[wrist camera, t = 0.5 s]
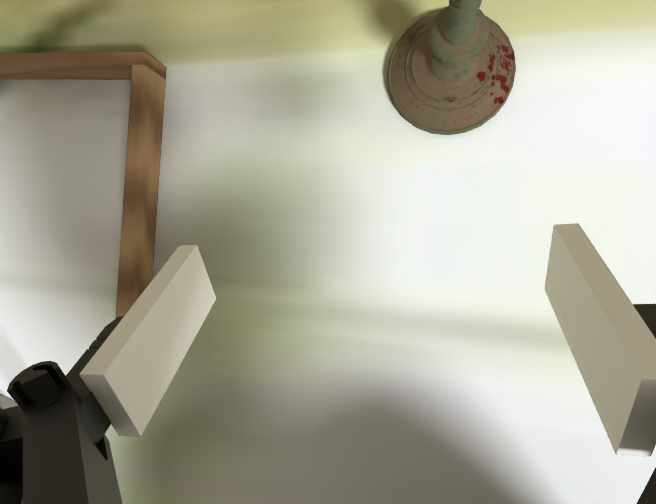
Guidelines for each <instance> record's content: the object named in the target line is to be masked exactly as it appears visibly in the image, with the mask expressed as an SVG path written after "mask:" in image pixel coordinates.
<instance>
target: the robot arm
mask: <svg viewBox="0 0 656 504" xmlns="http://www.w3.org/2000/svg"><path fill="white" fill-rule="evenodd" d="M545 291H546V294H547V296H548V298H549V301H550V303H551V305H552V308H553V310H554V312H555V315H556V317H557V319H558V321H559V324H560V326H561V328H562V331H563V333H564V335H565V338H566V340H567V342H568V345H569V347H570V349H571V352H572V354H573V356H574V358H575V361H576V363H577V365H578V368H579V370H580V372H581V375H582V377H583V379H584V382H585V384H586V386H587V389H588V391H589V393H590V395H591V398H592V400H593V402H594V405H595V407H596V409H597V412H598V414H599V416H600V419H601V421H602V423H603V426H604V428H605V430H606V432H607V435H608V437H609V439H610V442H611V444H612V446H613V449H614V451H615V453H616V455H635V456H651V455H652V452H653V450H654V447H655V445H656V304H632V303H631V301H630V300H629V298H628V297H627V295H626V294H625V292H624V291H623V289H622V288H621V286H620V285H619V283H618V282H617V280H616V279H615V277H614V276H613V274H612V273H611V271H610V270H609V268H608V267H607V265H606V264H605V262H604V261H603V259H602V258H601V256H600V255H599V253H598V252H597V250H596V249H595V247H594V246H593V244H592V243H591V241H590V240H589V238H588V237H587V235H586V234H585V232H584V231H583V229H582V228H581V226H580V225H579V223H578V224H560V225H554V227H553V234H552V241H551V248H550V255H549V262H548V269H547V275H546V282H545ZM215 300H216V296H215V293H214V291H213V288H212V285H211V282H210V279H209V277H208V274H207V271H206V268H205V266H204V263H203V260H202V257H201V254H200V252H199V249H198V246H197V245H179V246H178V248H177V249H176V250H175V252H174V253H173V254H172V255H171V257H170V258H169V259H168V261H167V262H166V263H165V264H164V266H163V267H162V268H161V270H160V271H159V272H158V274H157V275H156V276H155V277H154V279H153V280H152V281H151V283H150V284H149V285H148V286H147V288H146V289H145V290H144V292H143V293H142V294H141V295H140V297H139V298H138V299H137V301H136V302H135V303H134V304H133V306H132V307H131V308H130V310H129V311H128V312H127V313H126V315H125V316H119V317H117V318H116V319H115V320H114V321H112V322H111V323H110V324H108V325H107V326H106V327H105V328H104V329H103V330H102V332H101V333H100V334H99V335H98V337H97V340H94V342H93V343H92V344H91V345H90V347H89V349H87V350H86V352H85V353H84V354H83V355H82V357H81V358H80V359H79V360H78V361H77V363H76V364H75V365H74V366H73V368H72V369H71V370H70V371H69V373H68V374H67V375H66V376H65V375H64V373H63V372H62V370H61V369H60V367H59V366H58V364H57V363H55V362H52V361H45V362H40V363H37V364H34V365H32V366H30V367H28V368H27V369H25V370H23V371H22V372H21V373H19V374H18V375H17V376H16V377H15V378H14V379H13V380H12V381H11V383H10V384H9V386H8V389H7V392H8V393H9V394H10V395H11V397H12V398H13V399H14V400H15V402H16V403H17V404H18V406H14V407H10V408H6V409H2V408H1V407H0V504H122V500H121V495H120V491H119V486H118V481H117V477H116V472H115V467H114V463H113V458H112V453H111V449H110V444H109V440H108V439H107V437H106V435H105V433H106V431H107V429H108V428H109V426H110V425H111V424H112V426H113V427H114V429H115V430H116V432H117V433H118V435H119V436H142V434H143V432H144V430H145V428H146V427H147V425H148V423H149V421H150V419H151V417H152V416H153V414H154V412H155V410H156V408H157V406H158V405H159V403H160V401H161V399H162V397H163V395H164V394H165V392H166V390H167V388H168V386H169V384H170V383H171V381H172V379H173V377H174V375H175V374H176V372H177V370H178V368H179V366H180V364H181V363H182V361H183V359H184V357H185V355H186V353H187V352H188V350H189V348H190V346H191V344H192V342H193V341H194V339H195V337H196V335H197V333H198V331H199V330H200V328H201V326H202V324H203V322H204V320H205V319H206V317H207V315H208V313H209V311H210V309H211V308H212V306H213V304H214V302H215ZM637 504H656V468H655V470H654V472H653V474H652V476H651V477H650V479H649V481H648V483H647V485H646V487H645V489H644V491H643V493H642V495H641V497H640V498H639V500H638V502H637Z"/></svg>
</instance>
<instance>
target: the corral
mask: <svg viewBox="0 0 656 504" xmlns="http://www.w3.org/2000/svg"><path fill="white" fill-rule="evenodd" d="M0 79H120V80H131V95H130V110H129V125H128V140H127V155H126V170H125V185H124V200H123V216H122V231H121V246H120V261H119V276H118V291H117V306H116V318H117V317H119V316H125V315H126V313H127V312H128V311H129V310H130V308H131V307H132V306H133V304H134V303H135V302H136V301H137V299H138V298H139V297H140V295H141V294H142V293H143V292H144V290H145V289H146V288H147V286H148V285H149V284H150V283H151V281H152V272H153V257H154V243H155V228H156V213H157V198H158V184H159V169H160V154H161V139H162V125H163V110H164V95H165V80H166V67H165V66H163V65H162V64H161V63H159V62H158V61H157V60H155V59H154V58H153V57H151V56H150V55H149V54H147V53H146V52H61V53H0Z"/></svg>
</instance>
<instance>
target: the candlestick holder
mask: <svg viewBox="0 0 656 504" xmlns="http://www.w3.org/2000/svg"><path fill="white" fill-rule="evenodd" d="M480 5H481V0H449V6H447V7H445V8H444V9H443V10H441V11H438V12H434V13H432V14H430V15H428V16H426V17H424V18H422V19H420V20H418V21H417V22H416V23H415V24H413V25H412V26H411V27H410V28H409V29H407V30H406V32H405V33H404V34H403V36H402V37H401V38H400V39H399V41H398V42H397V44H396V46H395V48H394V50H393V53H392V55H391V57H390V60H389V67H388V73H387V80H388V90H389V93H390V96H391V98H392V101H393V104H394V106H395V107H396V109H397V110H398V111H399V113H400V114H401V115H402V116H403V118H404V119H406V120H407V121H408V122H410V123H411V124H412V125H414V126H415V127H416V128H419V129H421V130H424V131H427V132H429V133H433V134H442V135H452V134H459V133H465V132H467V131H470V130H472V129H475V128H477V127H479V126H481V125H483V124H484V123H485V122H487V121H488V120H489V119H491V118H492V117H493V116H495V114H496V113H497V112H498V111H499V110H500V108H501V107H502V106H503V105H504V103H505V102H506V100H507V98H508V96H509V93H510V91H511V89H512V87H513V82H514V76H515V70H516V66H515V57H514V51H513V48H512V46H511V43H510V41H509V38H508V36H507V35H506V34H505V33H504V31H503V30H502V29H501V28H500V26H499V25H498V24H497V23H495V22H494V21H492V20H491V19H489V18H488V17H487V16H485V15H484V14H483V13H482V11H481V10H480V9H479V7H480Z"/></svg>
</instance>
